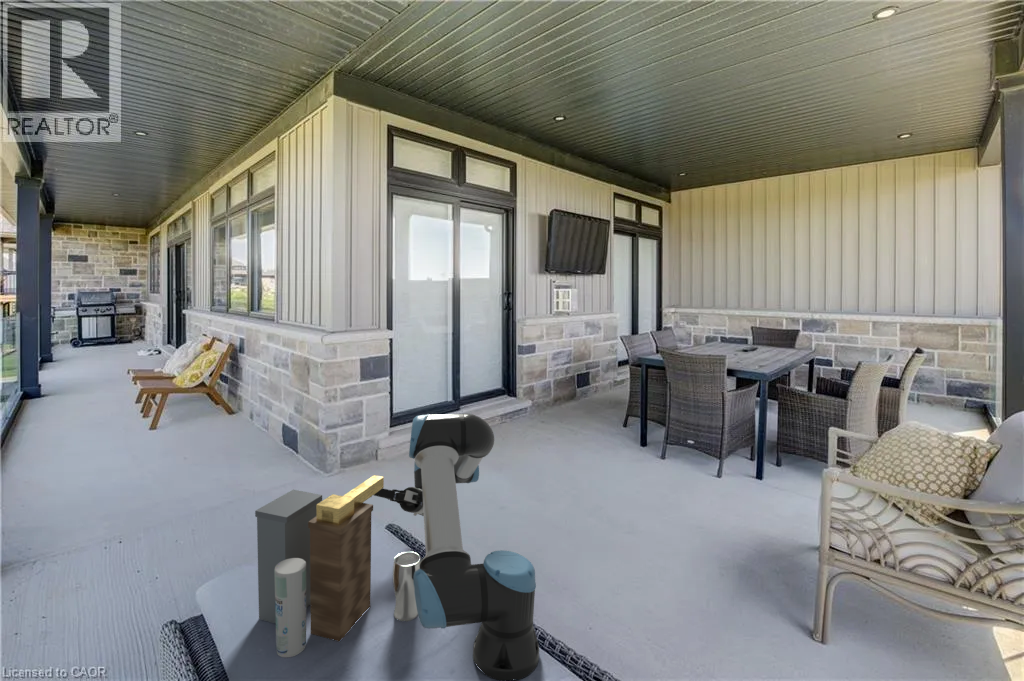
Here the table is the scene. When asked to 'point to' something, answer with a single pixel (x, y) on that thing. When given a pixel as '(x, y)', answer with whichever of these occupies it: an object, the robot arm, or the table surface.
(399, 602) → the beer glass
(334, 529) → the block
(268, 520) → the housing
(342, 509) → the pin
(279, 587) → the spray can
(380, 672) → the table surface
